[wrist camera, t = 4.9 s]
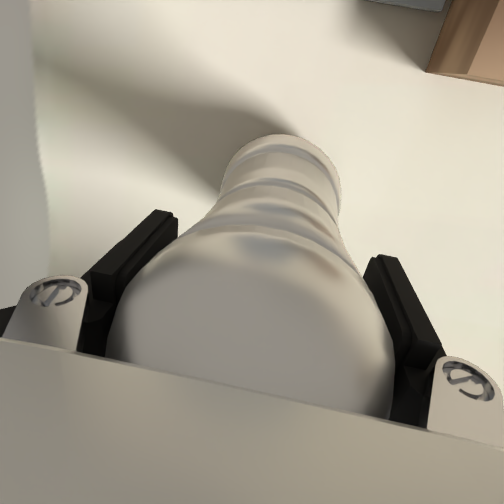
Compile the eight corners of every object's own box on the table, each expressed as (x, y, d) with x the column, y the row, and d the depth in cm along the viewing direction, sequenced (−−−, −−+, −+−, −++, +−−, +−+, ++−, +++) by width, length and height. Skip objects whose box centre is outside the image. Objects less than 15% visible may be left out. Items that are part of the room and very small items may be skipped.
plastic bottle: (292, 246, 22) (264, 834, 5) (211, 188, 21) (-189, 711, 4) (359, 173, 20) (833, 981, 2) (270, 101, 18) (-308, 662, 1)
